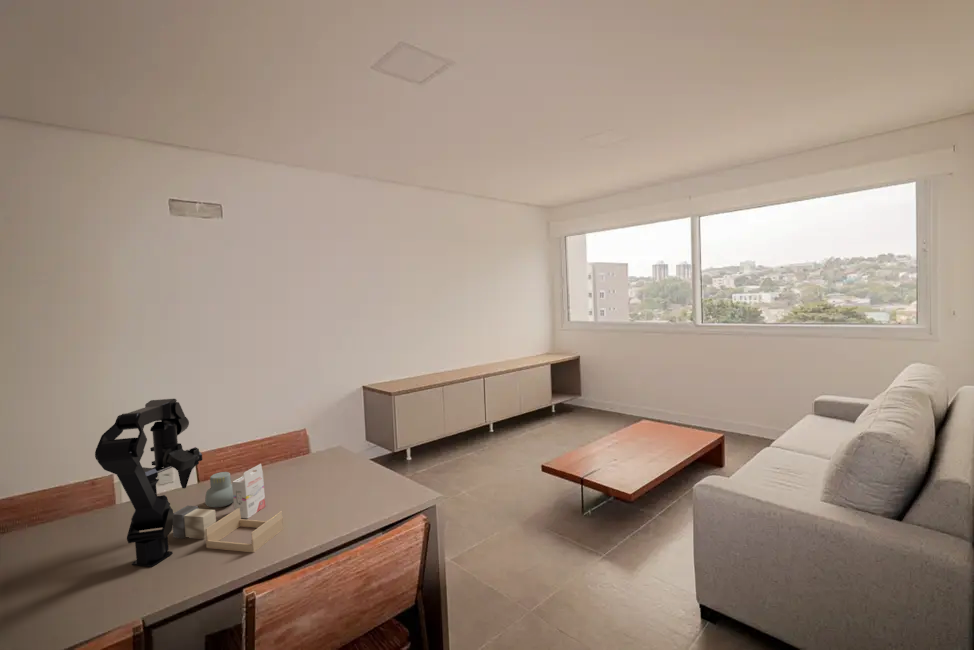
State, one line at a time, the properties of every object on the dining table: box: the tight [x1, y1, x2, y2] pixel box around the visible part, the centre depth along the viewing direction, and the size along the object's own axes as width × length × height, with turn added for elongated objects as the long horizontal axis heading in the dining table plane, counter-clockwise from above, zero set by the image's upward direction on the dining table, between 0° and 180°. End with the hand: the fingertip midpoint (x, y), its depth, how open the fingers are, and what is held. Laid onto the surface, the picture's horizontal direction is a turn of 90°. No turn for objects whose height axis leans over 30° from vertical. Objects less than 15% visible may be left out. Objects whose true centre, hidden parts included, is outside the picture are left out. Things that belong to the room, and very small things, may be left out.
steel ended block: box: [172, 505, 217, 540], centre depth 135 cm, size 10×6×7 cm, turn 79°
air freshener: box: [204, 471, 234, 509], centre depth 155 cm, size 11×8×10 cm
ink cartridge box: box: [231, 463, 266, 519], centre depth 148 cm, size 9×5×15 cm, turn 169°
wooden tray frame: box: [205, 508, 285, 553], centre depth 132 cm, size 13×15×6 cm
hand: (169, 494), depth 135 cm, fingers open, 9 cm apart
